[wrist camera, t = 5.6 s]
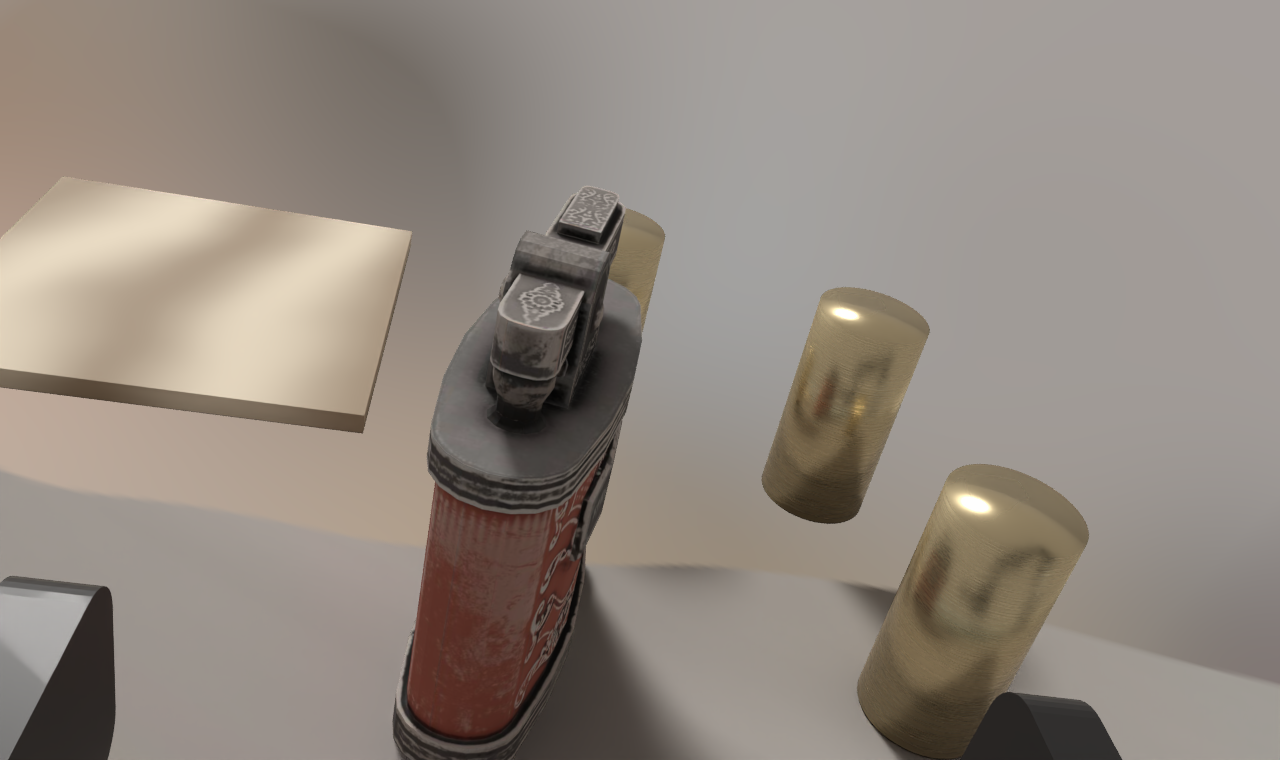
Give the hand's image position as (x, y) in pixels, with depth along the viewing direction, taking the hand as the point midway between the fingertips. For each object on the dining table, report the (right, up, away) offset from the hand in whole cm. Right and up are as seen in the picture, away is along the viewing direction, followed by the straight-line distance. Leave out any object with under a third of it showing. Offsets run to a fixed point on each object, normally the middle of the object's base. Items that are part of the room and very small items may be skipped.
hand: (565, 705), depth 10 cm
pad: (-13, +6, +24) cm, 28 cm away
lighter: (-3, -3, +15) cm, 16 cm away
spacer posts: (+3, -1, +20) cm, 20 cm away
